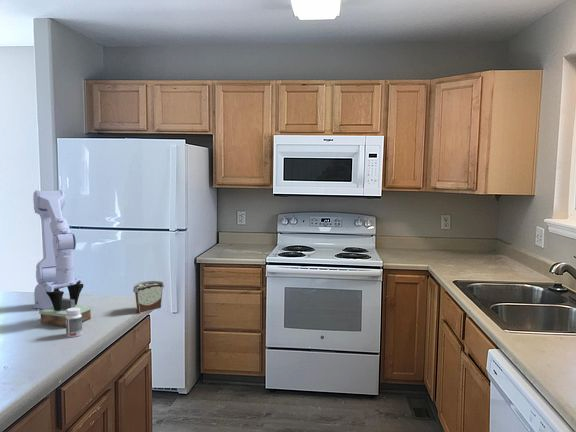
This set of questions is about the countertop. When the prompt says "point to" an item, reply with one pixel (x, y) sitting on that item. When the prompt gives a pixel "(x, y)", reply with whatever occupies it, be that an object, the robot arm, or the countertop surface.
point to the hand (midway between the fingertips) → (65, 307)
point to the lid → (64, 308)
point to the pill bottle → (73, 322)
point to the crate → (62, 319)
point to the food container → (148, 295)
